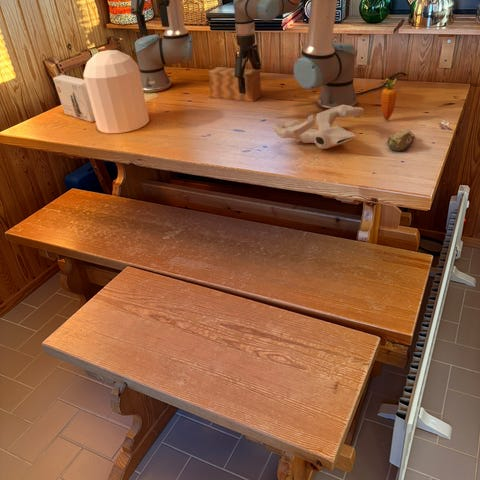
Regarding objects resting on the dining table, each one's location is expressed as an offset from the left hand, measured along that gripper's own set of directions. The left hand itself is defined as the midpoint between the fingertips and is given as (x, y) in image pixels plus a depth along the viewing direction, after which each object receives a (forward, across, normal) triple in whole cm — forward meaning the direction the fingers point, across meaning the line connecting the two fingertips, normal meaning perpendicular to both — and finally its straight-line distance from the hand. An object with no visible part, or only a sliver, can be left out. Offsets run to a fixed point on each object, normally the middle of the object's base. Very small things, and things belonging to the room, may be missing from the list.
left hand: (155, 30), depth 164 cm
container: (+34, -6, +19) cm, 39 cm away
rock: (+34, 0, -88) cm, 95 cm away
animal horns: (+34, -6, -65) cm, 74 cm away
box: (+34, +34, -12) cm, 49 cm away
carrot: (+34, +20, -80) cm, 89 cm away
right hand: (+30, +34, -19) cm, 49 cm away
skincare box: (+34, -4, +43) cm, 55 cm away
